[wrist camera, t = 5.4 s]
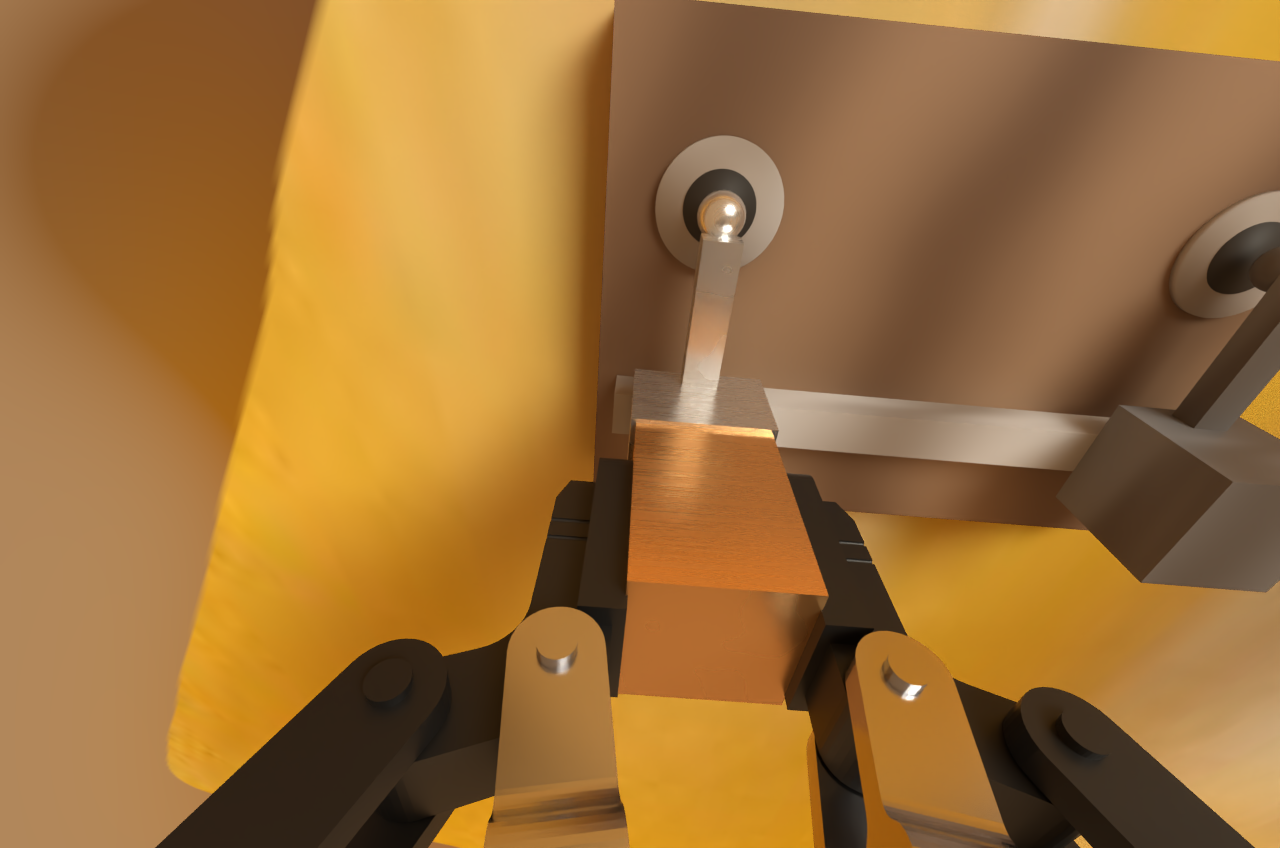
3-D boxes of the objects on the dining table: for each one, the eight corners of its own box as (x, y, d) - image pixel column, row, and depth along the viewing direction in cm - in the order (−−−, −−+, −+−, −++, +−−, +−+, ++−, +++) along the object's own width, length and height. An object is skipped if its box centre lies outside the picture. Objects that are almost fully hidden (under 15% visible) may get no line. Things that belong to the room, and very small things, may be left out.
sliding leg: (793, 192, 11) (962, 315, 5) (733, 459, 15) (785, 708, 9) (651, 179, 11) (646, 287, 5) (627, 450, 14) (609, 695, 9)
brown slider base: (1401, 85, 11) (1931, 80, 6) (1090, 501, 18) (1245, 647, 13) (619, 3, 11) (593, -64, 6) (597, 461, 17) (576, 596, 13)
